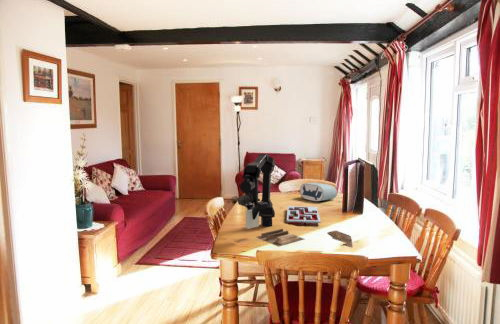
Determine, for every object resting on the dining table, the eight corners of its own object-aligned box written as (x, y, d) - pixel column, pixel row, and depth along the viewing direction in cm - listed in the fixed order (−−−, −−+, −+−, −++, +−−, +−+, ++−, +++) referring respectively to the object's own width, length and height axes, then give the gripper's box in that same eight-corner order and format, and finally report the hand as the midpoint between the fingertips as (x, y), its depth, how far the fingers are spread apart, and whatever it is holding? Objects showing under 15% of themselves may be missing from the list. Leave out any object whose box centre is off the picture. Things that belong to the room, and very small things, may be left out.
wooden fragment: (325, 231, 199) (325, 229, 199) (345, 231, 199) (345, 229, 199) (338, 248, 174) (338, 246, 173) (360, 248, 174) (360, 245, 174)
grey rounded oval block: (299, 198, 280) (300, 182, 279) (314, 196, 293) (315, 180, 292) (322, 203, 264) (323, 186, 263) (337, 200, 277) (338, 184, 276)
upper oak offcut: (276, 239, 178) (276, 237, 178) (291, 235, 184) (291, 233, 184) (281, 241, 175) (282, 239, 175) (296, 237, 181) (296, 235, 181)
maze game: (320, 226, 209) (320, 221, 208) (286, 225, 211) (286, 220, 211) (316, 211, 243) (316, 206, 243) (287, 210, 245) (287, 206, 245)
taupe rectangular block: (245, 227, 183) (245, 210, 182) (256, 225, 187) (256, 208, 186) (248, 228, 181) (247, 211, 180) (258, 226, 186) (258, 209, 185)
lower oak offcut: (275, 241, 179) (275, 239, 178) (292, 237, 186) (292, 235, 186) (281, 244, 175) (281, 242, 174) (299, 239, 182) (299, 237, 182)
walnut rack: (255, 238, 186) (255, 233, 186) (281, 232, 197) (281, 226, 197) (278, 248, 172) (278, 242, 172) (305, 241, 183) (305, 235, 182)
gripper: (229, 188, 185) (229, 217, 187) (251, 194, 170) (251, 226, 172) (246, 185, 191) (246, 214, 193) (269, 191, 177) (268, 222, 178)
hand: (252, 218), depth 184 cm, fingers closed on taupe rectangular block, 2 cm apart
